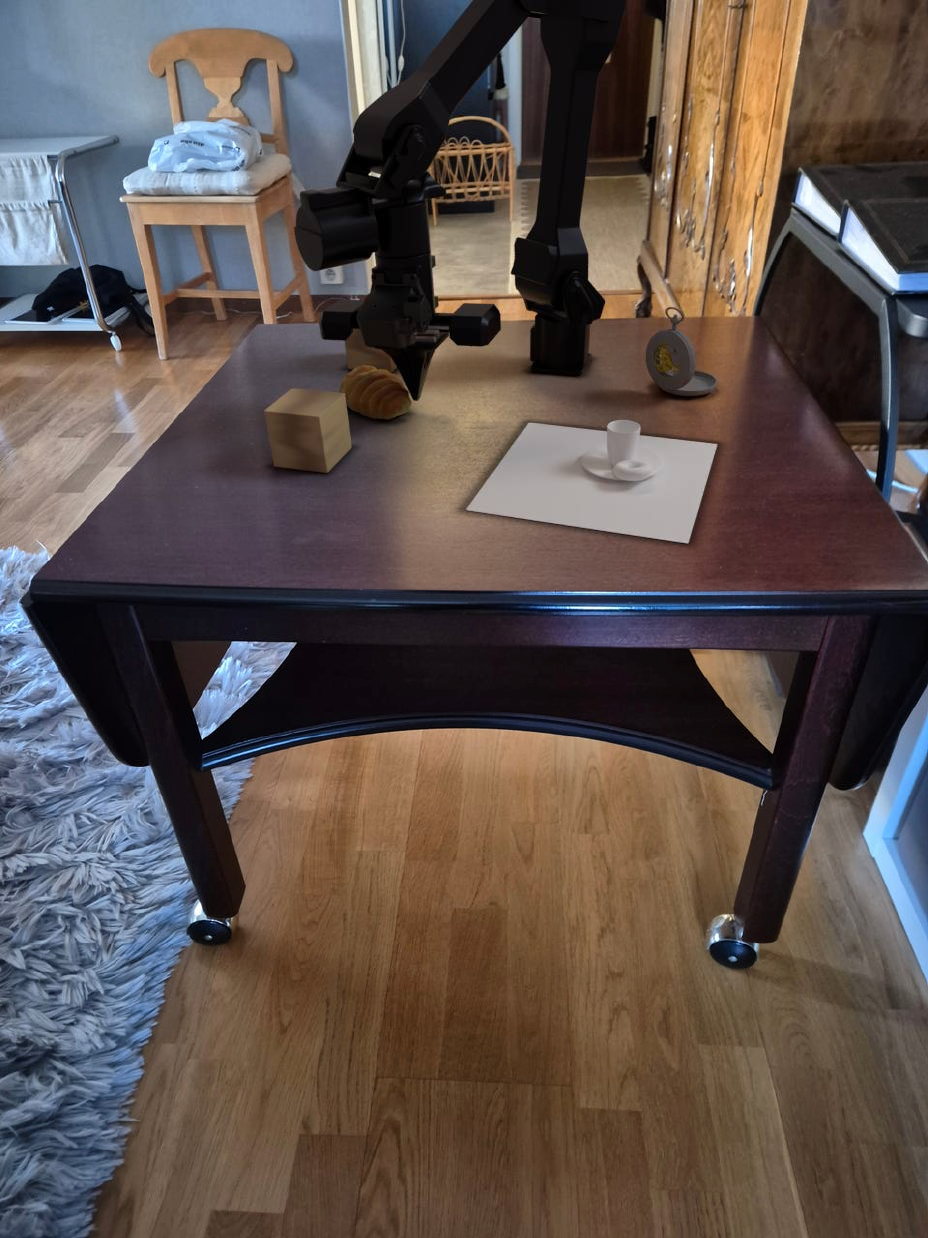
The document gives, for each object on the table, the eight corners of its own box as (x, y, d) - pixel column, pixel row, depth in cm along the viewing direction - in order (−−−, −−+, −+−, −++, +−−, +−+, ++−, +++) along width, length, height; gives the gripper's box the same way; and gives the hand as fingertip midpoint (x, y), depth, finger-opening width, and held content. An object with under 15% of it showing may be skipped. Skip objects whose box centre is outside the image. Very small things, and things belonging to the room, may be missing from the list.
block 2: (408, 356, 110) (405, 309, 106) (391, 372, 105) (387, 324, 102) (366, 352, 112) (361, 306, 108) (347, 368, 107) (341, 320, 103)
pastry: (427, 412, 95) (425, 379, 93) (376, 429, 92) (372, 396, 90) (383, 388, 101) (380, 357, 99) (334, 403, 98) (329, 371, 96)
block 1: (352, 447, 88) (345, 392, 85) (327, 473, 84) (319, 416, 80) (300, 441, 90) (291, 387, 86) (273, 466, 86) (263, 410, 82)
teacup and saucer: (653, 493, 78) (658, 452, 76) (569, 482, 80) (571, 442, 78) (669, 453, 85) (673, 414, 82) (591, 443, 87) (593, 406, 85)
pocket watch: (719, 380, 99) (732, 292, 93) (711, 407, 93) (724, 315, 87) (649, 374, 102) (657, 288, 96) (637, 400, 96) (645, 310, 89)
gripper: (283, 270, 82) (310, 422, 91) (467, 274, 77) (476, 435, 86) (331, 243, 90) (351, 385, 99) (499, 245, 85) (504, 394, 94)
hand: (416, 399), depth 94 cm, fingers closed
